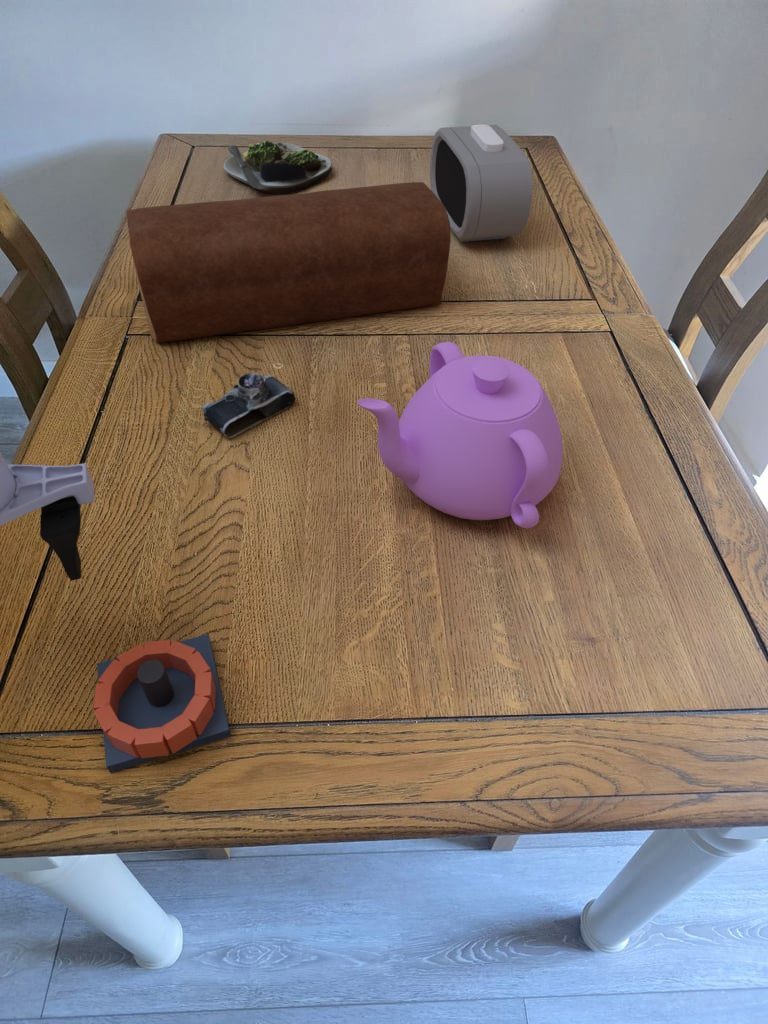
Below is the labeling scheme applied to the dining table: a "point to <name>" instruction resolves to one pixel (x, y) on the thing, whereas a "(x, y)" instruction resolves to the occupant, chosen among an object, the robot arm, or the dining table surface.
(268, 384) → the camera
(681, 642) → the dining table surface
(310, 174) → the salad plate
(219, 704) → the ring stacking peg
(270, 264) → the bread
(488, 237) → the alarm clock
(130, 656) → the segmented red ring
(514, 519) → the teapot
